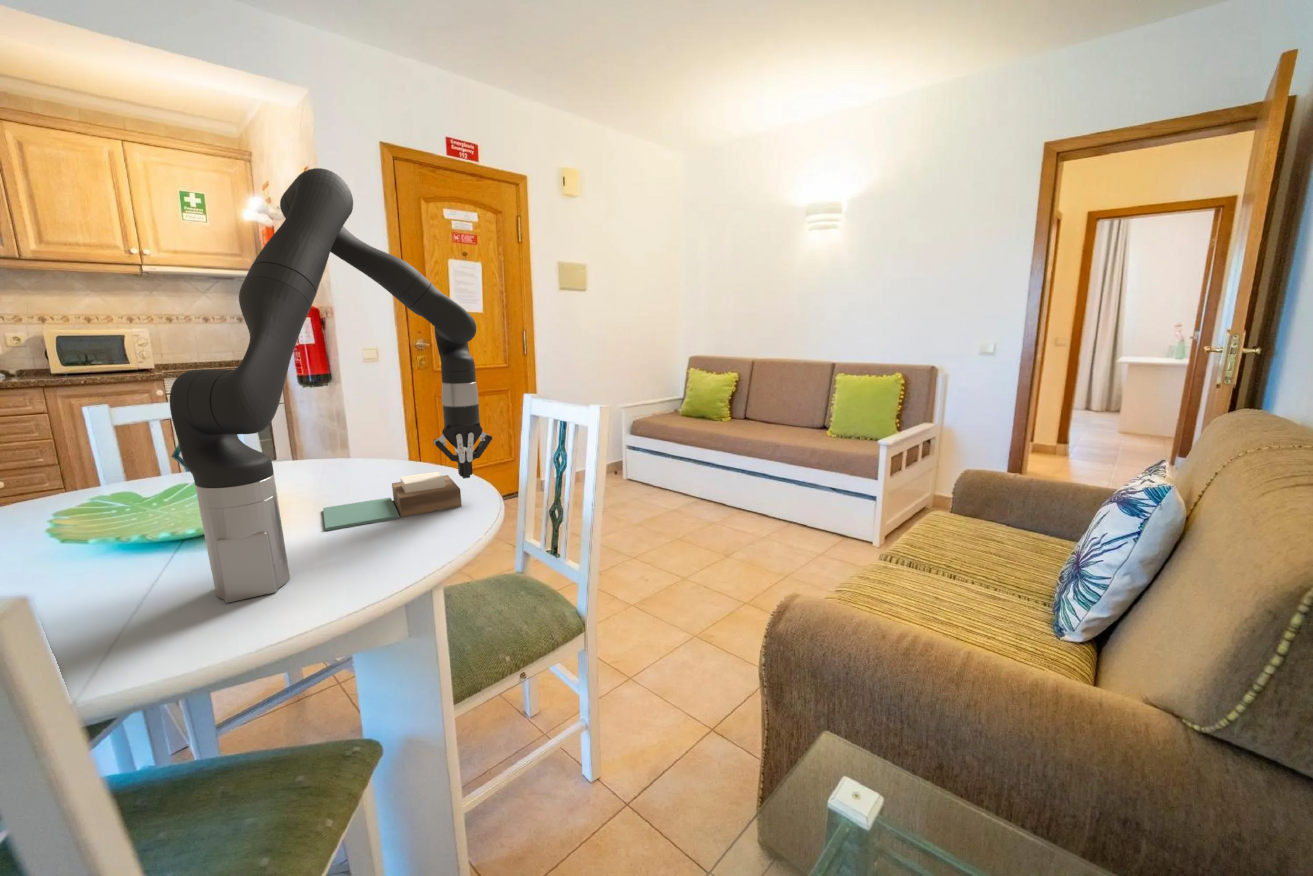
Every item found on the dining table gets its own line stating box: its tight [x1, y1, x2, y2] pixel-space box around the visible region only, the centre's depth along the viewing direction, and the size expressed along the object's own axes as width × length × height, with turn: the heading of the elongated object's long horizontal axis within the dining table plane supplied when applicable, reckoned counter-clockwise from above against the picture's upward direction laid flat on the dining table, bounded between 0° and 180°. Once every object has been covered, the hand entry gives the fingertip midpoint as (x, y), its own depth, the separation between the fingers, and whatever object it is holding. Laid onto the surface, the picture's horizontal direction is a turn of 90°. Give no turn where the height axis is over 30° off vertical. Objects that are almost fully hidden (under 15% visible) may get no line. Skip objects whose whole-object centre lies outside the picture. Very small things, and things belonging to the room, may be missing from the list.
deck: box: [391, 474, 462, 518], centre depth 118 cm, size 12×12×4 cm
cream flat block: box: [399, 471, 445, 493], centre depth 117 cm, size 6×8×2 cm
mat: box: [322, 496, 400, 532], centre depth 112 cm, size 13×13×1 cm
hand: (466, 477), depth 122 cm, fingers closed
